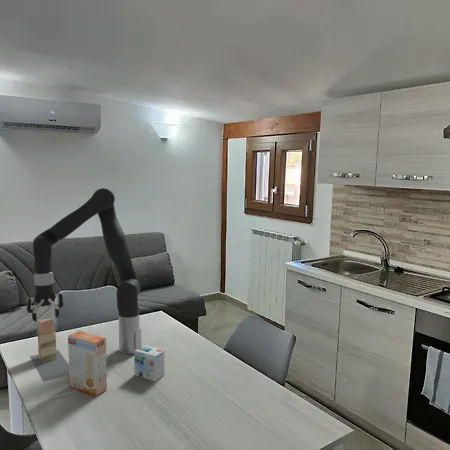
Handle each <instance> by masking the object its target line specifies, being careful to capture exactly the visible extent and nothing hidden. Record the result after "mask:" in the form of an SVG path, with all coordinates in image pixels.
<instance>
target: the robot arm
mask: <svg viewBox="0 0 450 450" xmlns="http://www.w3.org/2000/svg"><path fill="white" fill-rule="evenodd" d="M115 198H116V197H115V194H114V193H113V191H112V190H111V189H108V188H103V187H102V188H99V189H97V190H95V191H94V193H93V194H92V196H91V197H90V198H89V199H88V200H87V201H86V202H85V203H83V204H82V205H81V206H79V208H77V209H75V210H74V211H72V212H71V213H69V214H67V215H65V216H64V217H63V218H61V219H60V220H59V221H58V222H56V223H55V224H54V225H52V226H50V228H48V229H46V230H44V231H42V232H41V233H39V234H38V235H37V236H36V237H34V239H33V242H32V250H33V259H34V263H33V265H34V267H33V268H34V270H33V271H34V273H33V274H34V275H33V276H34V277H33V278H34V279H33V283H34V297H27V298H26V312H27V313H28V314H30V313H31V318H32V321H34V323H36V322H37V317H38V316H37V311H38V310H39V309H40V307H42V308H43V307H47V306H48V307H49V306H50V305H52V306H53V307H54V317H55V318H56V319H58V317H59V316H60V308H63V307H64V300H63V294H62V293H61V292H57V293H56V294H55V285H54V284H55V283H54V282H55V279H54V273H53V262H52V252H53V250H52V247H53V245H55V244H56V243H57V242H59V241H61V240H64V239H65V238H66V237H68V236H69V235H71V234H72V233H73V232H75V231H76V230H77V229H78V228H80V227H81V226H82V225H83V224H85V223H86V222H87V221H88V220H90V219H91V218H93V217H94V216H96V215H98V218H99V221H100V225H101V232H102V237H103V241H104V245H105V249H106V252H107V255H108V257H109V259H110V260H111V262H112V264H113V265H114V266H115V268H116V270H117V274H118V277H119V284H118V286H117V289H116V307H117V308H116V309H117V311H118V352H119V353H120V354H123V355H134V351H135V350H136V349H138V348H140V347H142V328H141V327H140V308H139V304H138V303H139V300H138V299H139V298H138V297H139V296H138V295H140V292H141V284H140V281H139V278H138V276H137V274H136V272H135V268H134V265H133V262H132V256H131V253H130V249H129V245H128V242H127V238H126V235H125V232H124V231H123V228H122V226H121V223H120V222H119V219H118V217H117V213H116V210H115V201H116V200H115ZM55 299H57V300H58V304H56V303H55V302H54V300H55ZM33 302H35V304H34V305H33V307H32V304H33Z"/></svg>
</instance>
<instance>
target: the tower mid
mask: <svg viewBox="0 0 450 450" xmlns="http://www.w3.org/2000/svg"><path fill="white" fill-rule="evenodd" d="M56 337H57V336H56V331H55V330H54V333H49V334H44V335H41V333H40V332H39V330H37V345H39V346H40V348H41V349H44V348H49V347H54V346H56V347H57V339H56Z"/></svg>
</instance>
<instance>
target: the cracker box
mask: <svg viewBox="0 0 450 450" xmlns="http://www.w3.org/2000/svg"><path fill="white" fill-rule="evenodd" d="M67 346H68V348H67V349H68V351H67V352H68V364H69V375H68V380H69V381H68V382H69V386H68V387H70V388H72V389H76V390H77V391H80V392H83V393H85V394H89V395H91V396H95V397H97V396H99V395H100V394H102V393H104V392H106V391H107V389H108V388H107V385H108V383H107V381H108V380H107V379H108V377H107V338H106V337H103V336H100V335H97V334H93V333H89V332H84V331H80V330H78V331H75V332H73V333H70V334H69V335H67Z"/></svg>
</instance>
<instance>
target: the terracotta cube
mask: <svg viewBox="0 0 450 450" xmlns="http://www.w3.org/2000/svg"><path fill="white" fill-rule="evenodd" d="M54 322H55V321H54V319H52V318H51V317H48V318H42V319H38V331H39V332H40V333H41V335H44V334H49V333H54V331H55V323H54Z"/></svg>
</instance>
